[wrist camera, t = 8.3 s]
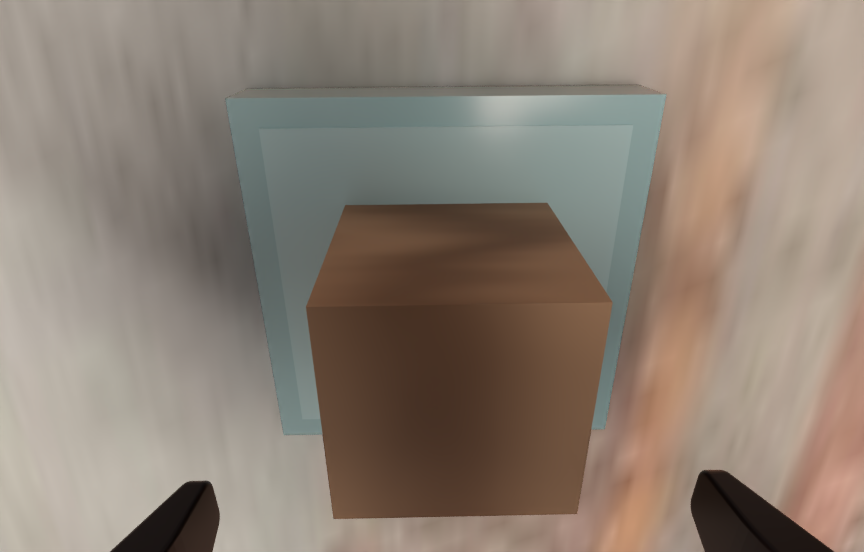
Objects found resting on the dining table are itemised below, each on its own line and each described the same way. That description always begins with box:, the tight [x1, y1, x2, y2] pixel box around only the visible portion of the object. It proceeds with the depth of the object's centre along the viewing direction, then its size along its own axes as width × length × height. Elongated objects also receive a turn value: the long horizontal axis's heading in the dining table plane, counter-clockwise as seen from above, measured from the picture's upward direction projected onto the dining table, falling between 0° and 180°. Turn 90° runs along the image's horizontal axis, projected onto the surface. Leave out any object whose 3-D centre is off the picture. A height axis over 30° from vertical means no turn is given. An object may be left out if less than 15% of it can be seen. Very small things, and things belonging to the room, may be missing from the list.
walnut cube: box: [306, 203, 613, 519], centre depth 14 cm, size 6×6×6 cm
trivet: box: [225, 85, 666, 435], centre depth 18 cm, size 12×12×2 cm
